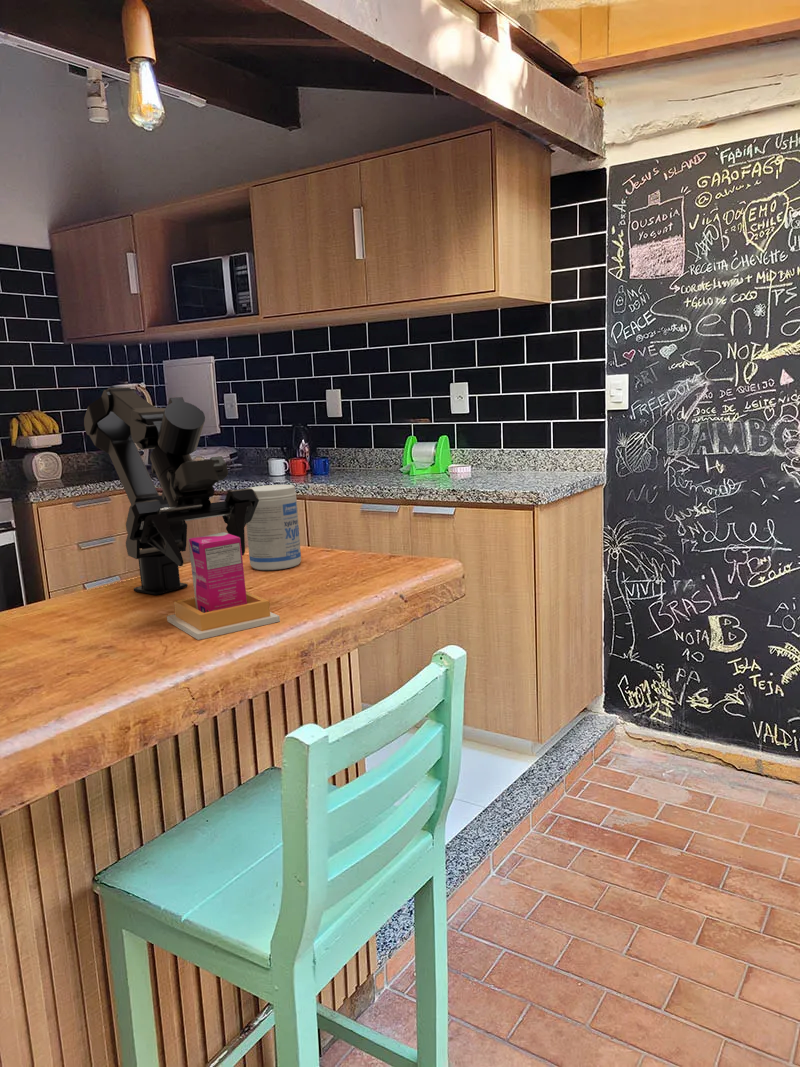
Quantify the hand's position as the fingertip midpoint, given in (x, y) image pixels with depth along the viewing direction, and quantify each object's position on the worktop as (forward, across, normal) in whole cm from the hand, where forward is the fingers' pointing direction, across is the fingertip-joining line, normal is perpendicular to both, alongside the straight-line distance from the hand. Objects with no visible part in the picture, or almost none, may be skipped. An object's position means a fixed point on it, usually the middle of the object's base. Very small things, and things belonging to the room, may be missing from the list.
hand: (213, 559), depth 115 cm
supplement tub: (-12, +22, +26) cm, 36 cm away
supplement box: (+7, 0, +5) cm, 8 cm away
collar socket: (+7, 0, +5) cm, 9 cm away
